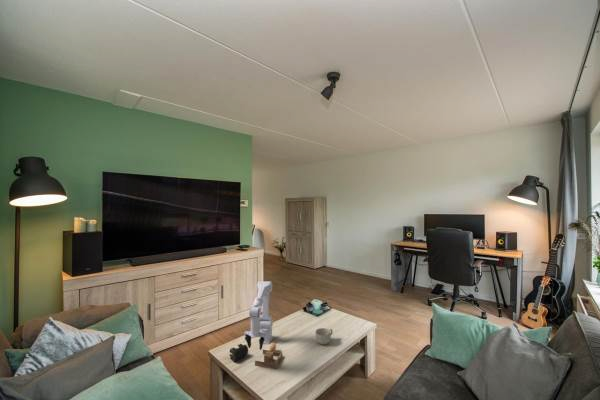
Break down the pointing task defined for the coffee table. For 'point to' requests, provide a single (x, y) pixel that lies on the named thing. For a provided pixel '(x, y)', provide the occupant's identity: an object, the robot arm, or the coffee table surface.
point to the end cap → (238, 352)
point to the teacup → (323, 335)
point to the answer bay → (270, 365)
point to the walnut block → (268, 357)
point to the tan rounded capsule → (273, 347)
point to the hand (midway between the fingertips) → (255, 348)
